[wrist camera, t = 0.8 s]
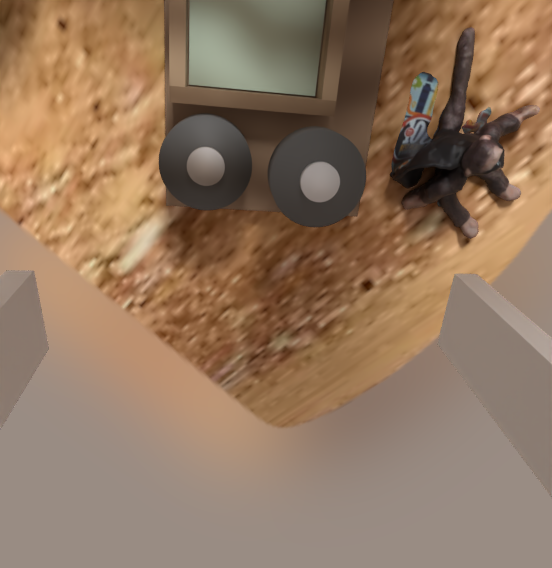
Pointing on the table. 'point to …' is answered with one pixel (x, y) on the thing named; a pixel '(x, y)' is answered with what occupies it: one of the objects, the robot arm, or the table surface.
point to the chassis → (262, 89)
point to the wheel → (316, 176)
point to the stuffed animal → (453, 144)
